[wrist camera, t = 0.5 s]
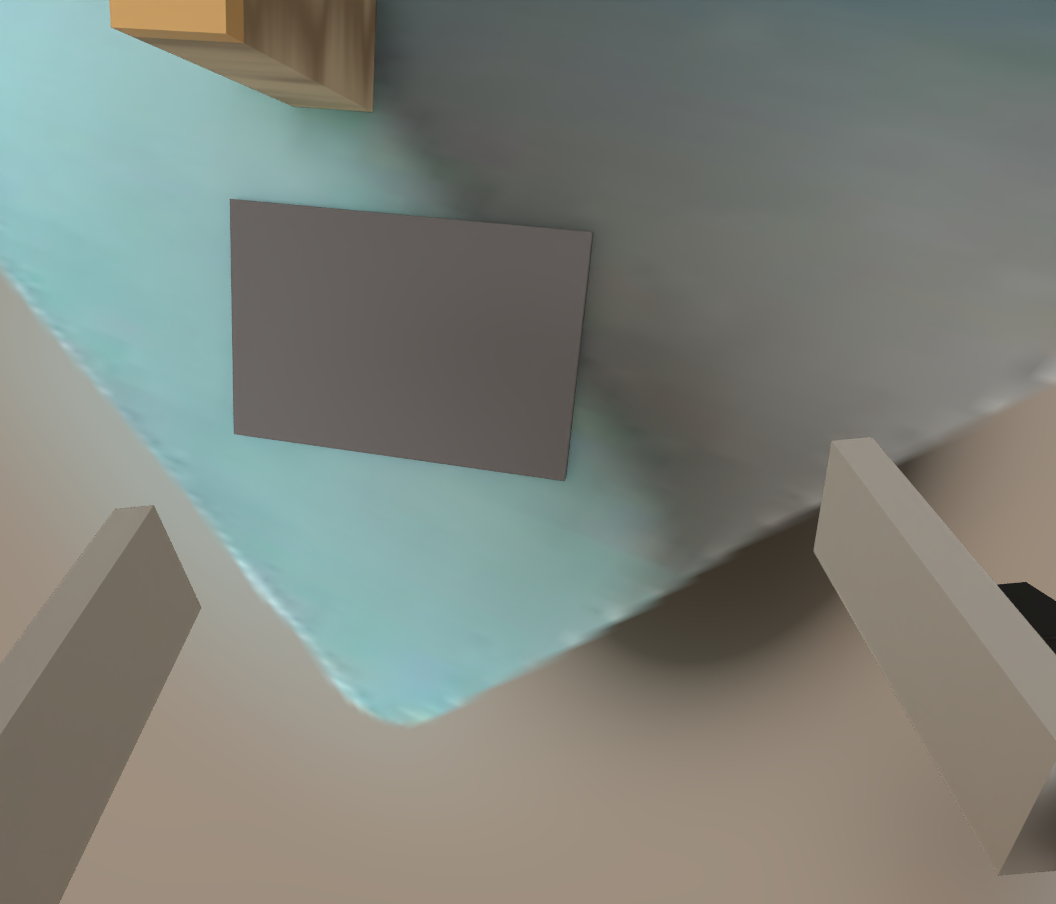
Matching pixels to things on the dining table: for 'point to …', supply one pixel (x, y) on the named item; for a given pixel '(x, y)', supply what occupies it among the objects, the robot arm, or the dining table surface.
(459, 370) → the rubber mat
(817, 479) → the dining table surface
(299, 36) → the maple block
